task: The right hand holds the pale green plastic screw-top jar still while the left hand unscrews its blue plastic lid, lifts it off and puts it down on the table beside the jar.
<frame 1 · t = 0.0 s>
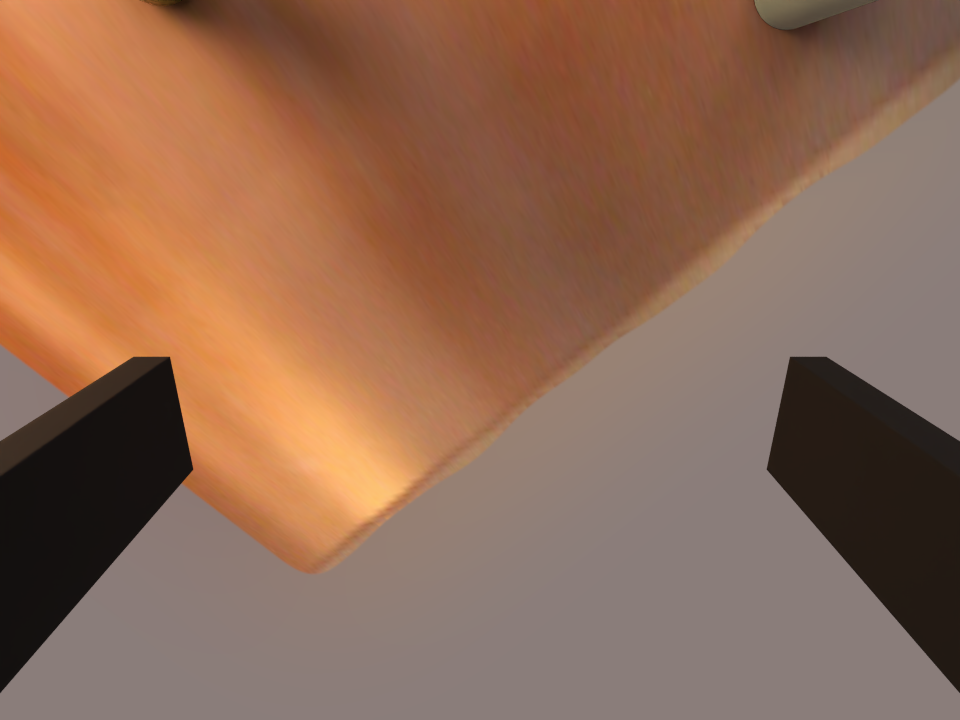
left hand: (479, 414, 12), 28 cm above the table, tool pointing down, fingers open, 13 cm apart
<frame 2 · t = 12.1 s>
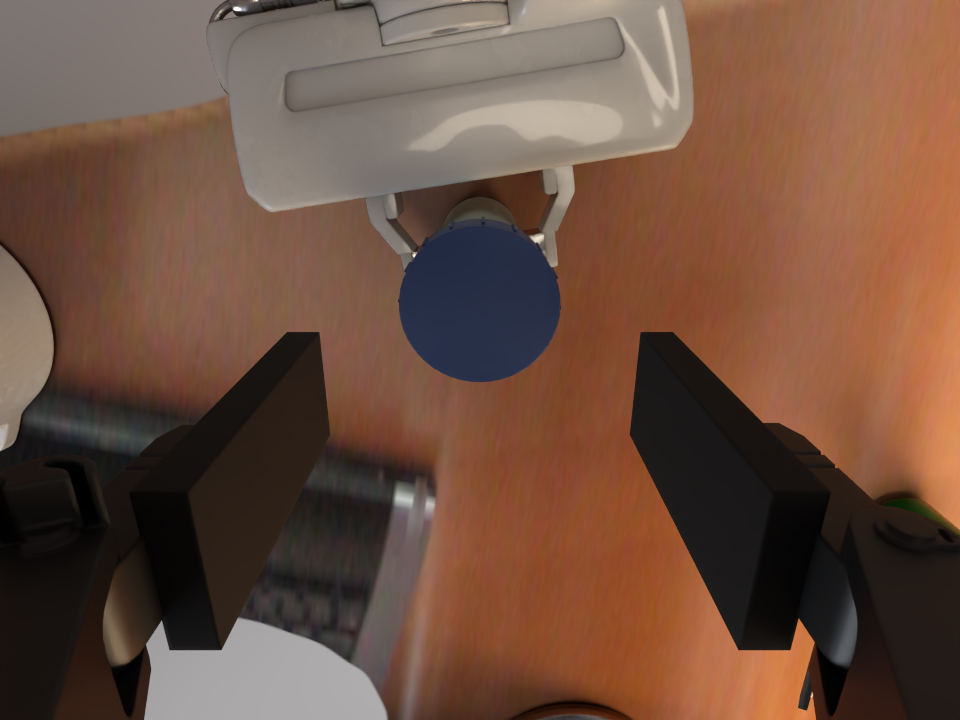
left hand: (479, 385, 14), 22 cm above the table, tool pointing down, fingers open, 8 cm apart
right hand: (483, 275, 29), fingers closed on screw-top jar, 4 cm apart
soda can: (891, 520, 42), on the table
screw-top jar: (480, 236, 35), on the table, touching right hand
lid: (479, 305, 21), point 15 cm above the table, screwed on, not yet turned
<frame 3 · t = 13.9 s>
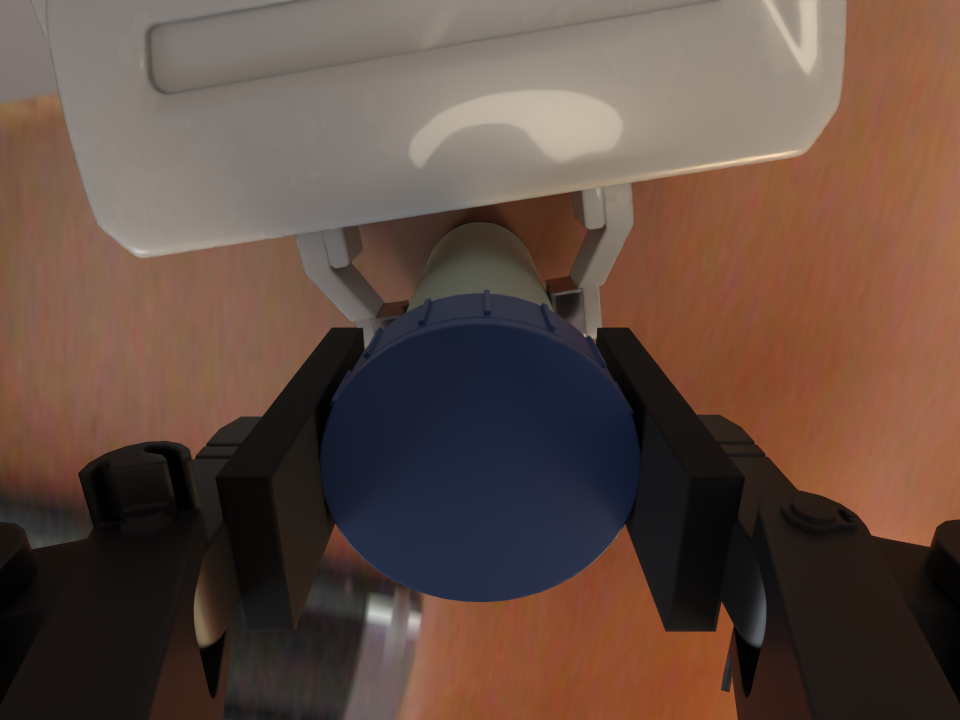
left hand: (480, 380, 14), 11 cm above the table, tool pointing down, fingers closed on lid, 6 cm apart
screw-top jar: (480, 276, 25), on the table, touching right hand
lid: (480, 466, 10), point 15 cm above the table, screwed on, not yet turned, touching left hand
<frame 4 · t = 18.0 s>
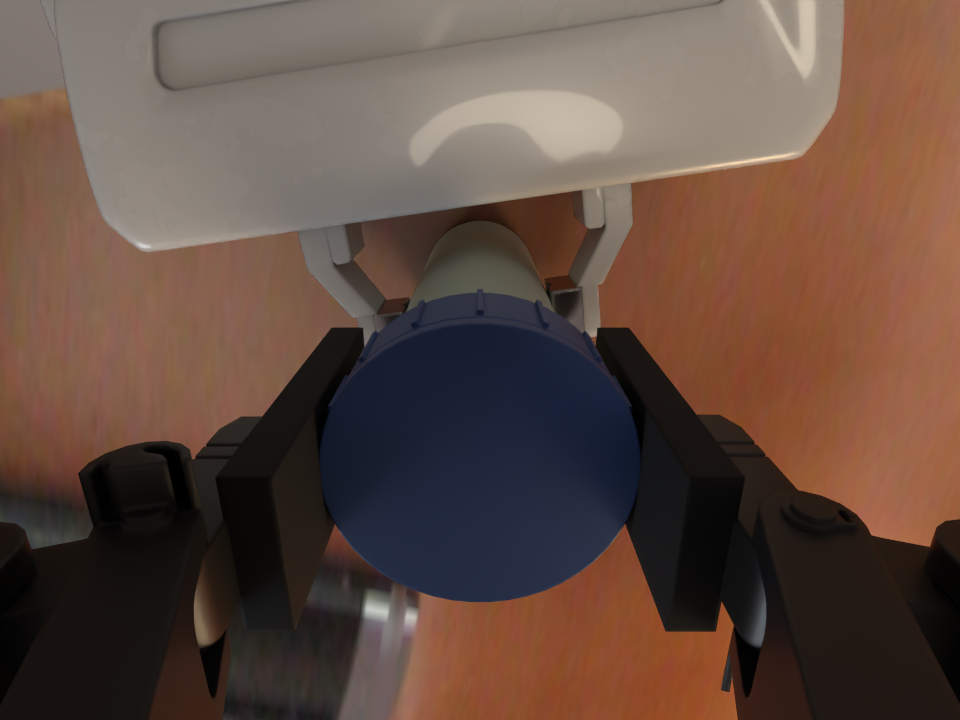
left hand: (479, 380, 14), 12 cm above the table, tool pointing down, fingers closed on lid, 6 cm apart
screw-top jar: (480, 274, 25), on the table, touching right hand
lid: (480, 466, 10), point 16 cm above the table, turned 138° so far, risen 0.2 cm, still on its thread, touching left hand
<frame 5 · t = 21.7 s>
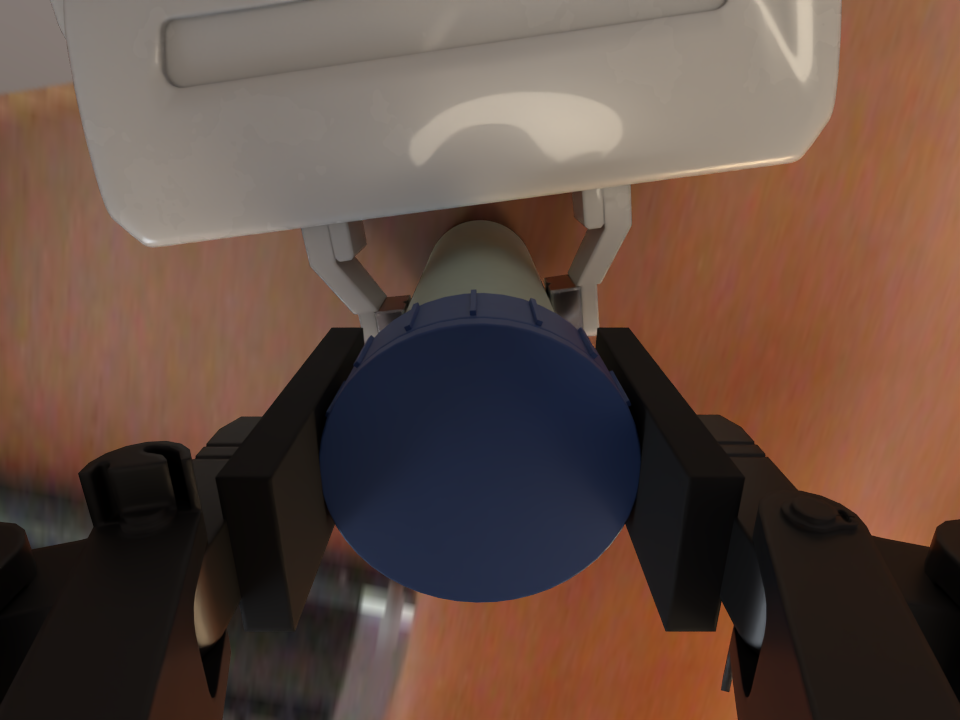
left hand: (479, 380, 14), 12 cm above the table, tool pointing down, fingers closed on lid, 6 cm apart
screw-top jar: (480, 273, 25), on the table, touching right hand
lid: (480, 467, 10), point 16 cm above the table, turned 276° so far, risen 0.5 cm, still on its thread, touching left hand
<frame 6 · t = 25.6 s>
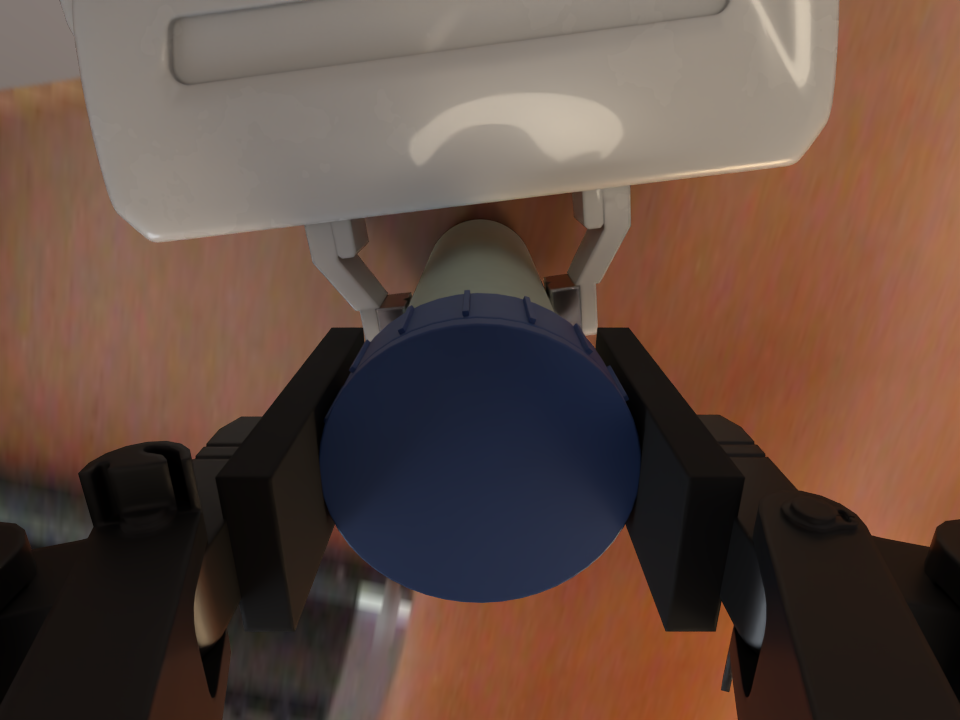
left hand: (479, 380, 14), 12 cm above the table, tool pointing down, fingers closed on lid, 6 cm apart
screw-top jar: (480, 272, 25), on the table, touching right hand
lid: (480, 467, 10), point 16 cm above the table, turned 414° so far, risen 0.7 cm, still on its thread, touching left hand
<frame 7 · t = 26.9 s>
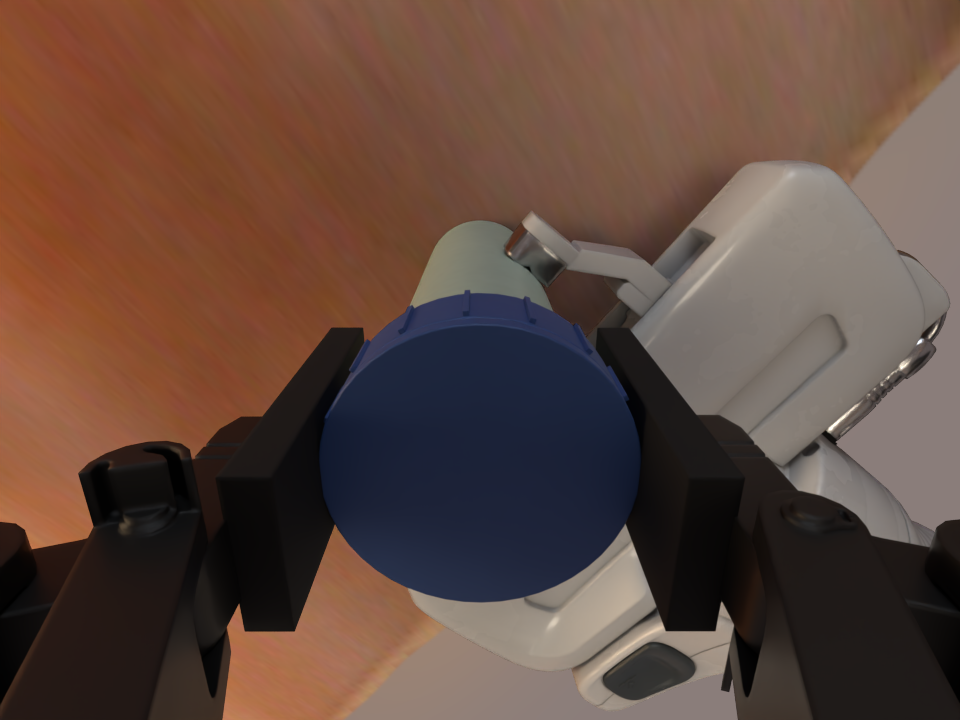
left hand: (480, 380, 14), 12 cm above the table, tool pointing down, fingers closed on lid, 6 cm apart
screw-top jar: (480, 273, 26), on the table, touching right hand
lid: (480, 467, 10), point 16 cm above the table, off its thread, touching left hand
when the left hand's fingers open (0 cm above the table, at t = 32.7 s): lid drops 3 cm, point 2 cm above the table.
when the right hand's fingers open (7 cm above the table, at t = 33.4 s): screw-top jar stays where it is, on the table.
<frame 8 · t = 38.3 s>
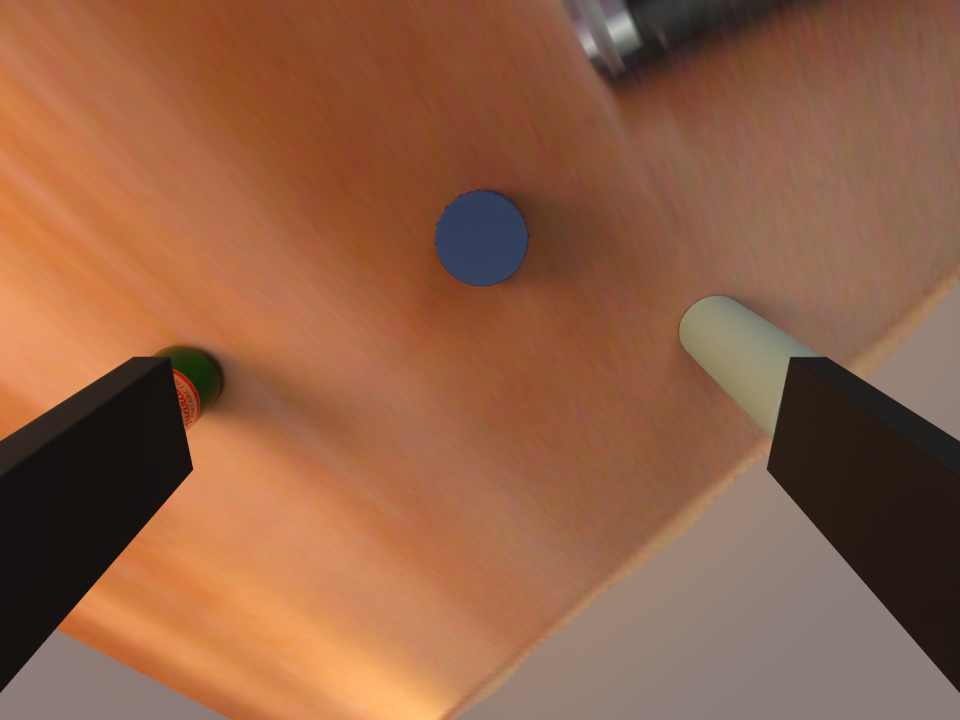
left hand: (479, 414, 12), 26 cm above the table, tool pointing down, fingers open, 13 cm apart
soda can: (189, 376, 41), on the table
screw-top jar: (712, 328, 39), on the table
lid: (481, 240, 36), point 2 cm above the table, off its thread
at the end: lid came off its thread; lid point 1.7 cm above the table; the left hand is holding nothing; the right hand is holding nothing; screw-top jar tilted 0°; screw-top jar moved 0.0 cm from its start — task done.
